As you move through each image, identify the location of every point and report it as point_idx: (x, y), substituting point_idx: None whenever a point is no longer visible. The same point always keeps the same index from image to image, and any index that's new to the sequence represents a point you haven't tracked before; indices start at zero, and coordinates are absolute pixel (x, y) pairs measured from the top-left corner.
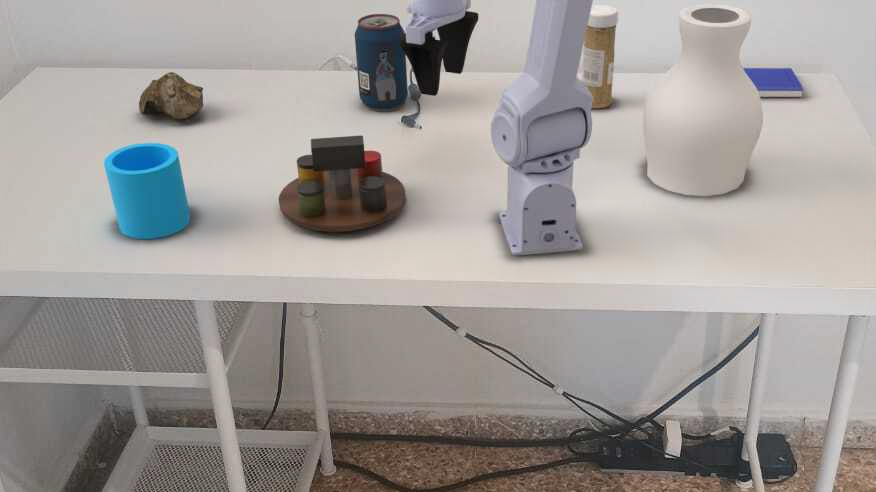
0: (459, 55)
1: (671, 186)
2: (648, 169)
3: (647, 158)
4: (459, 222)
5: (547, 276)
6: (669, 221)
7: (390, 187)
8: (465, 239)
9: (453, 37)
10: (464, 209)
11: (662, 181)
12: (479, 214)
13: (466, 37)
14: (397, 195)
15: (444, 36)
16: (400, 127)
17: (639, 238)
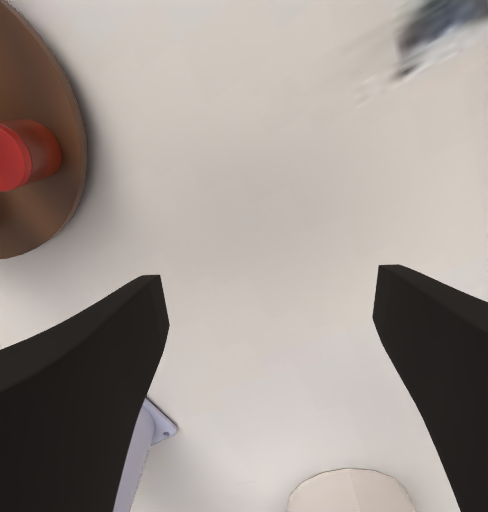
0: (405, 365)
1: (290, 504)
2: (322, 484)
3: (326, 499)
4: None
5: None
6: (217, 506)
7: (34, 210)
8: None
9: (461, 409)
10: None
11: (296, 498)
12: None
13: (450, 474)
14: (18, 239)
15: (474, 362)
16: (395, 10)
17: (165, 494)
